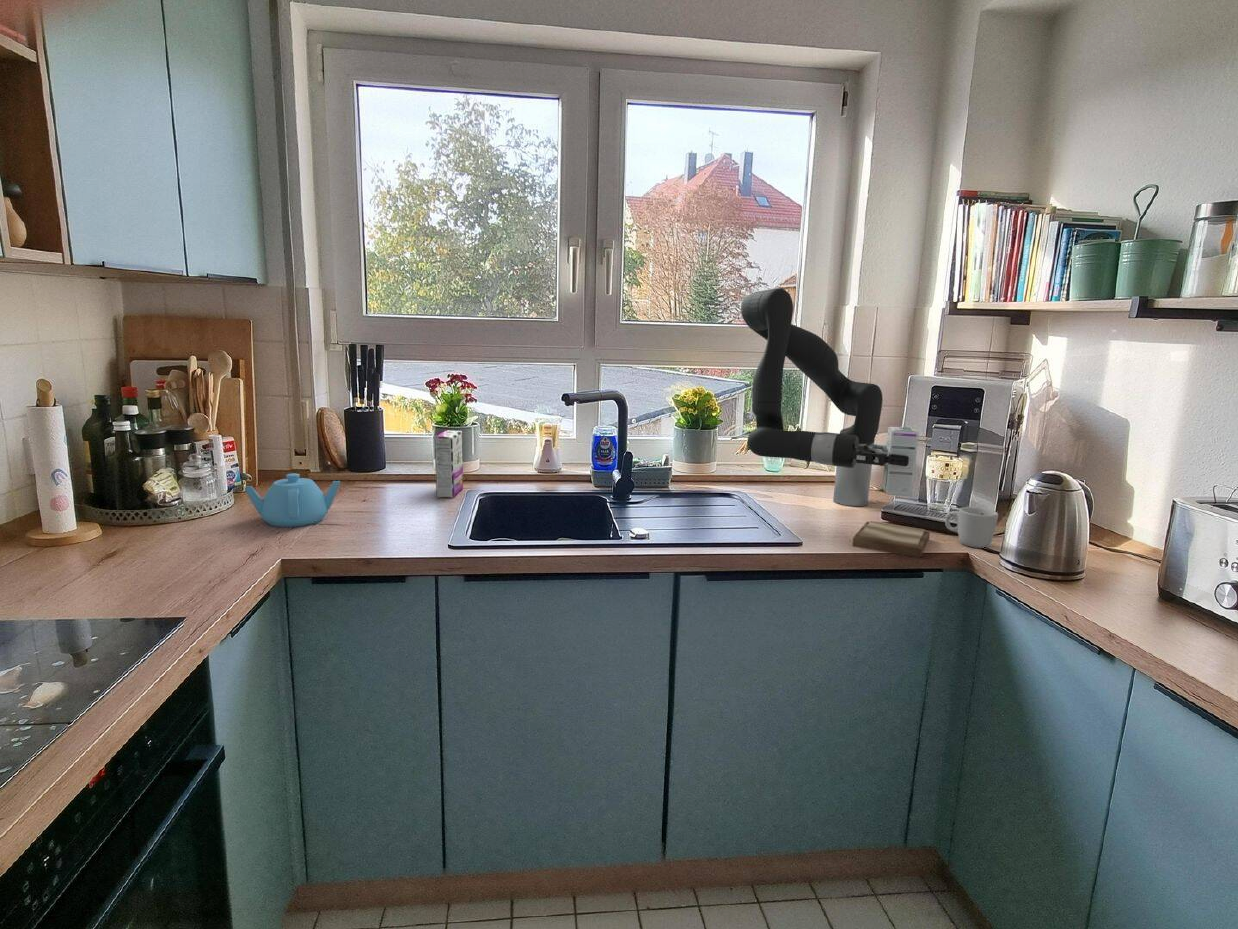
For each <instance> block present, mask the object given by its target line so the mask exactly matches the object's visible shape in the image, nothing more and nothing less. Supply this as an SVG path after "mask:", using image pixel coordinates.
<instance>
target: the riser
mask: <svg viewBox="0 0 1238 929" xmlns="http://www.w3.org/2000/svg"><path fill="white" fill-rule="evenodd" d="M930 532H931V531H929V530H926V529H924V528H918V527H911V526H904V525H900V524H899V525H898V524H892V523H886V522H878V521H872V520H870V521H866V522H865V523H864V524H863V525H862V527H861V528H860V529H859V530H858V532H857V533H856V534H855V535H854V536H853V538H852V547H856V548H862V549H866V550H867V549H868V550H872V551H878V552H885V553H889V554H890V553H891V554H896V555H902V556H906V557H907V556H908V557H914V558H919V559H921V557H922V555H923V553H924V551H925V549H924V548H926V547H927V545H928V542H929V539H930V534H931V533H930ZM926 544H927V545H926ZM925 546H926V547H925Z"/></svg>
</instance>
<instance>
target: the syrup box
mask: <svg viewBox="0 0 1238 929" xmlns="http://www.w3.org/2000/svg"><path fill="white" fill-rule="evenodd" d="M919 434H920V433H919V431H918V430H916V429H915V428H913V427H907V426H888V428H887V438H886V445H885V446H886V453H890V456H891V454H896V455H904V456H908V457H909V463H908V465H907V466H899V465H891V464H890V463H889V465H884V466H883V474H882V485H881V489H882V491H883V492H884V494H885V495H890V496H902V497H912V494H913V489H914V488H913V487H914V481H915V479H914V478H915V472H916V462H917V453H918V452H917V450H918V441H919Z"/></svg>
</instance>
